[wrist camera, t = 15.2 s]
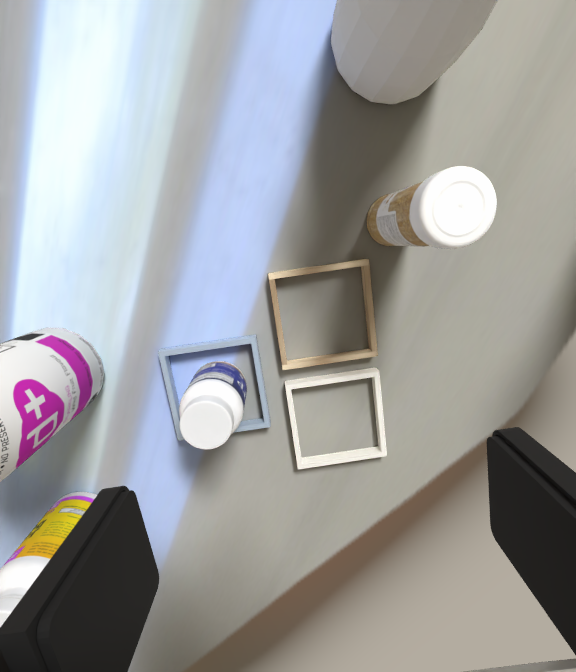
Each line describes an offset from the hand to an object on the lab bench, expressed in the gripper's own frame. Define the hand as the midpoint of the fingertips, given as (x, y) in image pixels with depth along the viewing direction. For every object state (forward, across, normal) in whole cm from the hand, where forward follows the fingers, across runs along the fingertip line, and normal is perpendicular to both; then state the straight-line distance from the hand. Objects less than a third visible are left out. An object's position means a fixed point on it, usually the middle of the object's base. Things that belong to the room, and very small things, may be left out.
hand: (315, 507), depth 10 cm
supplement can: (+27, +22, +2) cm, 35 cm away
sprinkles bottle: (+28, -10, -7) cm, 30 cm away
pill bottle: (+27, +8, +6) cm, 29 cm away
